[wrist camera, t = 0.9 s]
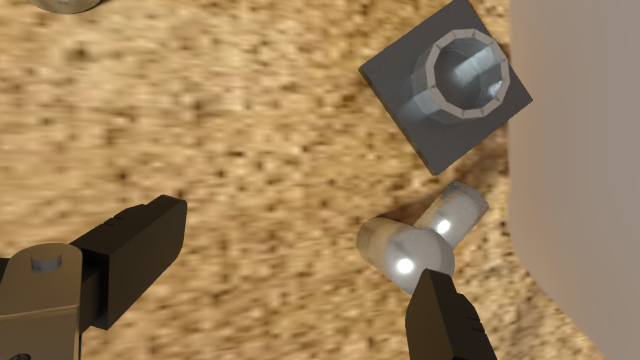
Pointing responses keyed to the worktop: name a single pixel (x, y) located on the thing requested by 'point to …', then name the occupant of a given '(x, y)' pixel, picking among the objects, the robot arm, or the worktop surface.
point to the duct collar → (446, 85)
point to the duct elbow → (422, 237)
